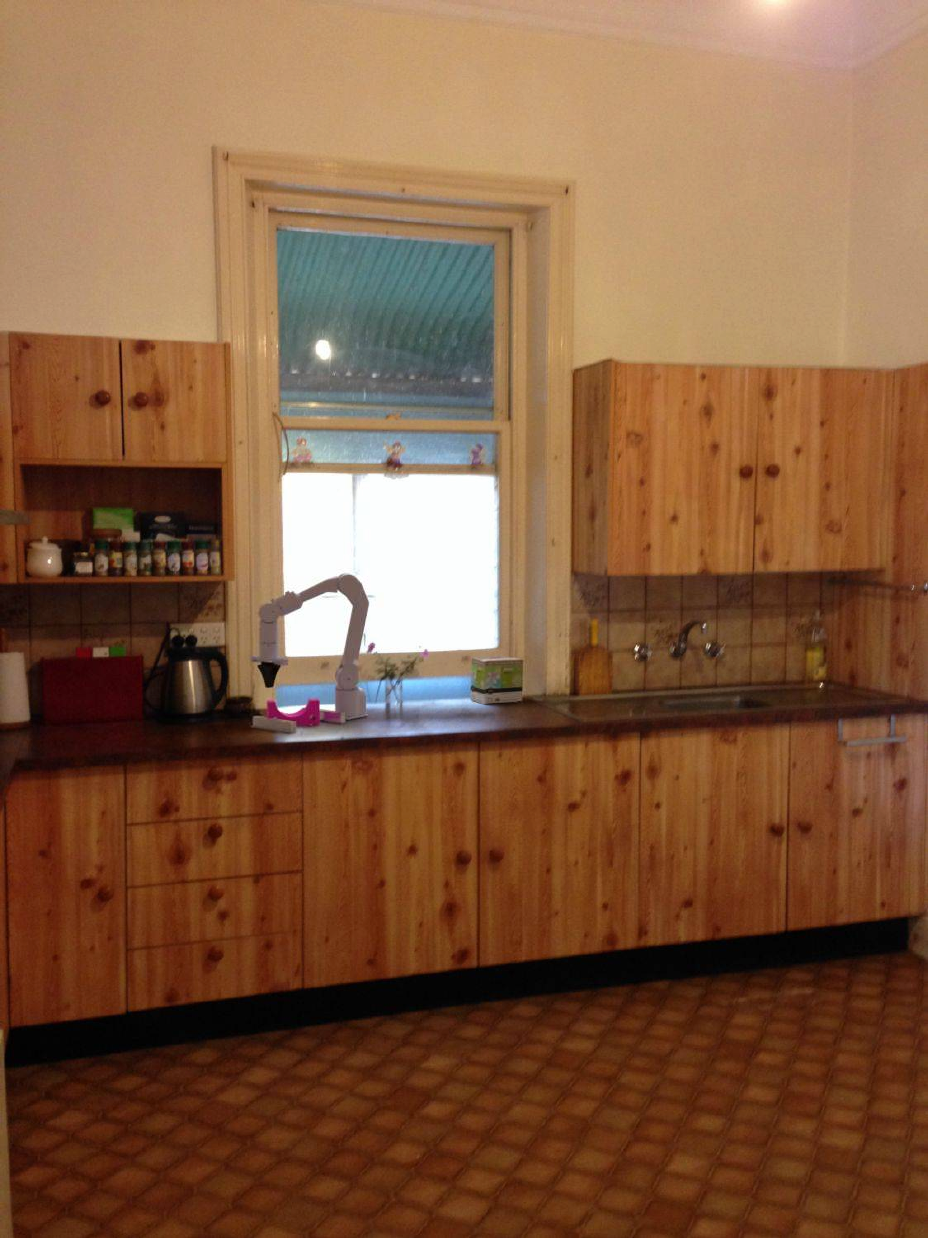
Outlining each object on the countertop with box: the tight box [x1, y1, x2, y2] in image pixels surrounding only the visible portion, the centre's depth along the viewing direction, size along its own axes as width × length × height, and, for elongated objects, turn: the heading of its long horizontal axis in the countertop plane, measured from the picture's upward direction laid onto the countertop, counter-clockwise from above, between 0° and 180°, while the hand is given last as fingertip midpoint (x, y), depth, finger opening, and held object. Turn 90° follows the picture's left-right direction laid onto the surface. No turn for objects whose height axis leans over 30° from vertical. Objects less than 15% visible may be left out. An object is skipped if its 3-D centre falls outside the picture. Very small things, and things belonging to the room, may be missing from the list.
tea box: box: [470, 656, 524, 705], centre depth 366 cm, size 15×10×15 cm, turn 119°
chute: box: [250, 708, 348, 734], centre depth 321 cm, size 24×16×3 cm
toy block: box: [266, 698, 321, 727], centre depth 322 cm, size 15×6×8 cm, turn 108°
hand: (269, 687), depth 328 cm, fingers closed
